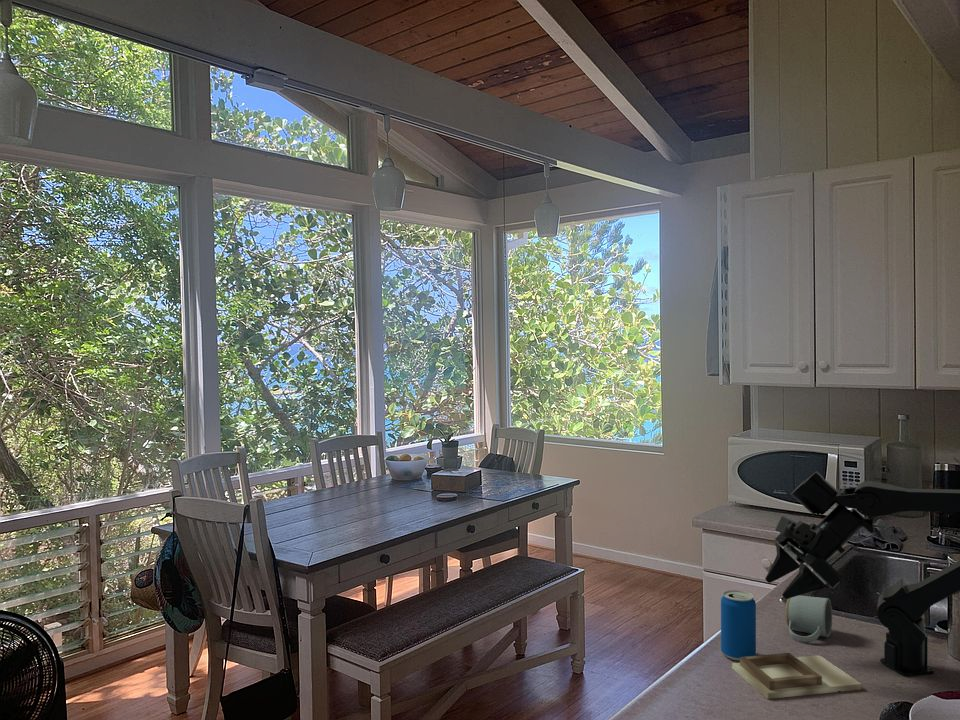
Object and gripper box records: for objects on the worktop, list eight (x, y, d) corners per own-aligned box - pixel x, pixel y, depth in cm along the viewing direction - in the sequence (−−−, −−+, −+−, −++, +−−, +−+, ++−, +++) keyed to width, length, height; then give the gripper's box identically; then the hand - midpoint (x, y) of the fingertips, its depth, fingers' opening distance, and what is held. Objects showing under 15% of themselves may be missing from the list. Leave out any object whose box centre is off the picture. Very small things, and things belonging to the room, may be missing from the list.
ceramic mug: (792, 622, 161) (791, 587, 160) (833, 630, 156) (832, 594, 156) (780, 639, 152) (780, 602, 152) (823, 648, 147) (823, 610, 147)
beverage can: (728, 646, 149) (728, 587, 148) (760, 654, 145) (760, 594, 144) (715, 656, 144) (715, 596, 143) (749, 665, 140) (748, 603, 139)
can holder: (818, 660, 142) (819, 647, 141) (861, 689, 130) (861, 675, 130) (732, 668, 138) (732, 655, 138) (767, 698, 127) (767, 684, 127)
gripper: (784, 493, 152) (731, 546, 153) (823, 515, 133) (761, 575, 134) (823, 531, 152) (769, 584, 153) (867, 558, 133) (805, 618, 134)
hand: (775, 588), depth 143 cm, fingers open, 9 cm apart
